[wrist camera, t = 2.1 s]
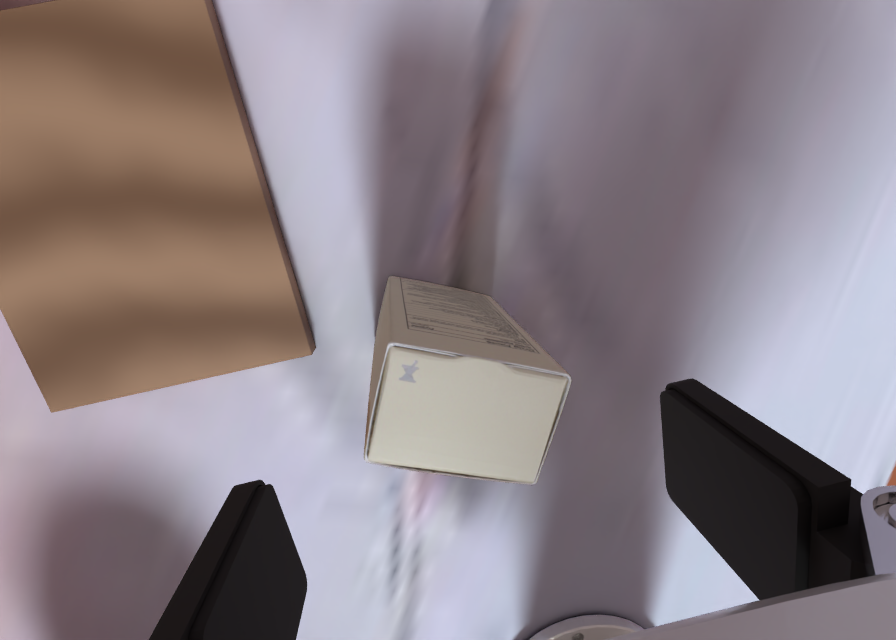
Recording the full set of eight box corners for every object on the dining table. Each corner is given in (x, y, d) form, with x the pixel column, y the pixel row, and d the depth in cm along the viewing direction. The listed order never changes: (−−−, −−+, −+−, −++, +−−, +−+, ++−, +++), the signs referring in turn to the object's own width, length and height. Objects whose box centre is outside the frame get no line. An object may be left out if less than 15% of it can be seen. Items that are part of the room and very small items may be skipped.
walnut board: (315, 347, 26) (311, 354, 25) (67, 402, 25) (51, 412, 24) (207, -14, 21) (196, -26, 20) (-105, 44, 20) (-135, 35, 19)
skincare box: (373, 345, 26) (350, 465, 14) (388, 272, 25) (376, 337, 14) (480, 365, 27) (539, 493, 15) (498, 296, 26) (577, 376, 14)
